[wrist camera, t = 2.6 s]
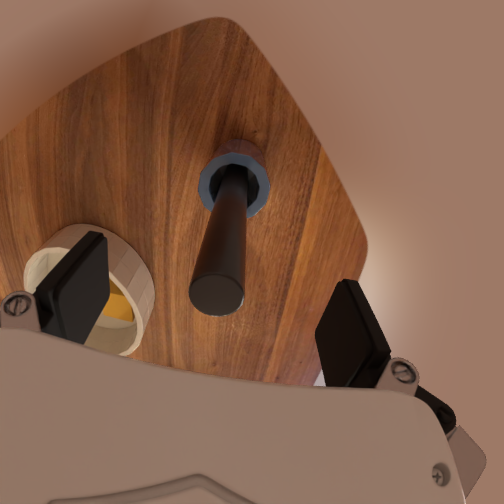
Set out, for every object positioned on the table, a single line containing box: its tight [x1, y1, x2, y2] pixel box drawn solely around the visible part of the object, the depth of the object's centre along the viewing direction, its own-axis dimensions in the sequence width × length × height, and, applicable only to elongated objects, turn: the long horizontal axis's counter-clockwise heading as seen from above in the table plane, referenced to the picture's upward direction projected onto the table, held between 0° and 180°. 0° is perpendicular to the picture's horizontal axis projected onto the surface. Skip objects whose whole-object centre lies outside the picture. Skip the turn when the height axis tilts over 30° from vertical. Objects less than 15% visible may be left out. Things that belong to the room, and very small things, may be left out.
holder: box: [198, 139, 270, 218], centre depth 24 cm, size 5×5×8 cm
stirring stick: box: [188, 163, 248, 317], centre depth 19 cm, size 2×2×20 cm
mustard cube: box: [103, 278, 135, 322], centre depth 33 cm, size 4×4×4 cm
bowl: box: [24, 224, 155, 356], centre depth 33 cm, size 17×17×6 cm
